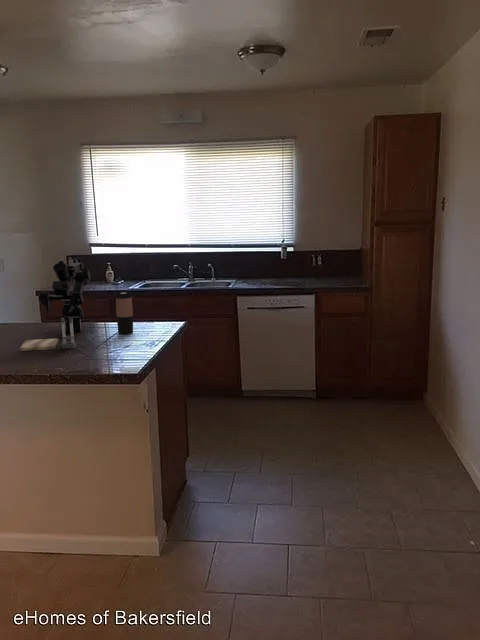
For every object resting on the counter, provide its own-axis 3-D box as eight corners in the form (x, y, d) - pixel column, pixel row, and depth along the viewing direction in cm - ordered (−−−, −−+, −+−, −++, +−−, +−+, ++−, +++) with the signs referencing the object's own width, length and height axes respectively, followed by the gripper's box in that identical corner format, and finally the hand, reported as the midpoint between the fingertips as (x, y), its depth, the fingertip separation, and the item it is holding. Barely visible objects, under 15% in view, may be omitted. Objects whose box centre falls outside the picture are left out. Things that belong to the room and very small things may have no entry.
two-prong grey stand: (75, 345, 234) (73, 316, 231) (74, 348, 230) (72, 319, 227) (63, 346, 233) (61, 317, 230) (62, 348, 228) (59, 319, 226)
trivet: (58, 341, 242) (58, 338, 241) (54, 349, 228) (53, 346, 228) (26, 342, 239) (26, 340, 239) (19, 350, 226) (19, 348, 225)
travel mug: (114, 333, 254) (111, 292, 250) (124, 330, 261) (122, 290, 257) (126, 335, 251) (124, 294, 246) (136, 332, 257) (134, 291, 253)
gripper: (38, 274, 238) (31, 301, 228) (80, 274, 238) (75, 300, 229) (45, 291, 247) (38, 317, 237) (85, 290, 247) (80, 316, 238)
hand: (58, 312), depth 235 cm, fingers open, 9 cm apart
